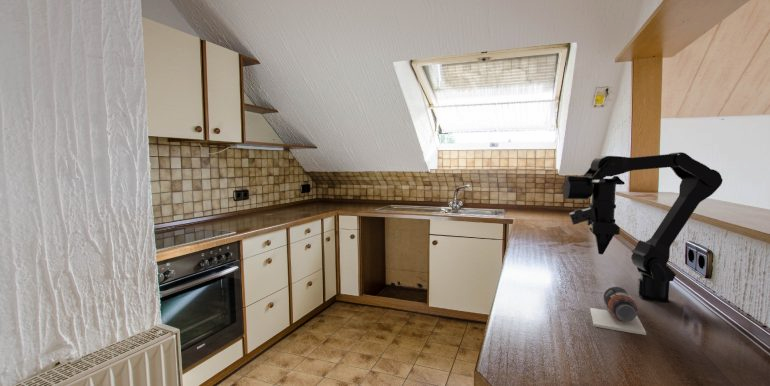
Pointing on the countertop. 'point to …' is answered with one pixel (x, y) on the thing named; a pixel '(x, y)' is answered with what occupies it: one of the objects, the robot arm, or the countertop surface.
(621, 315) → the supplement bottle
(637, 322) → the mat
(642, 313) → the countertop surface
